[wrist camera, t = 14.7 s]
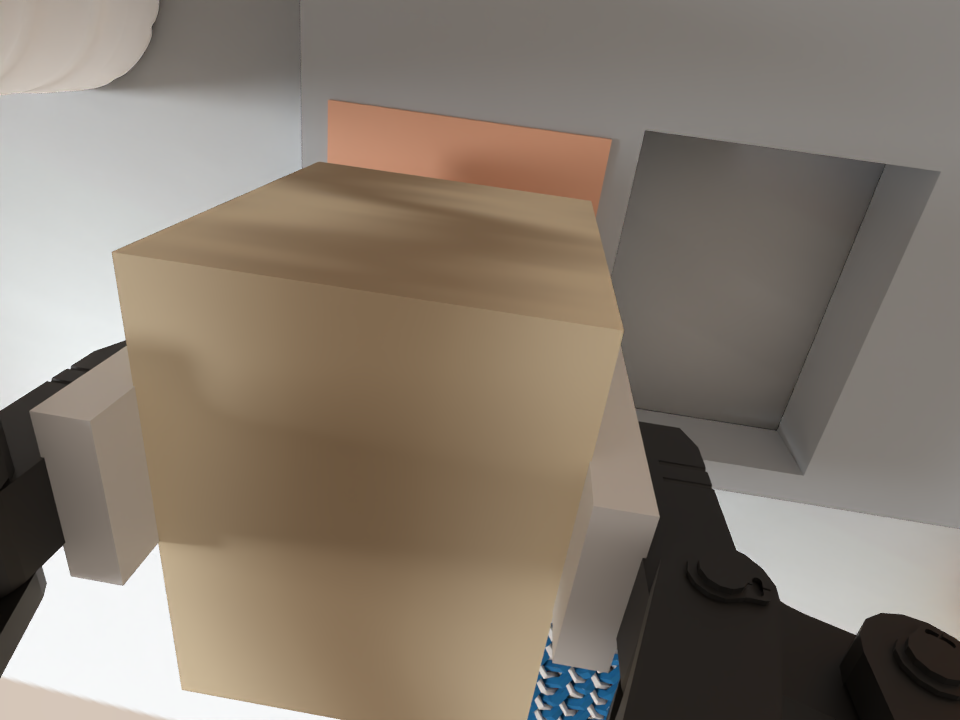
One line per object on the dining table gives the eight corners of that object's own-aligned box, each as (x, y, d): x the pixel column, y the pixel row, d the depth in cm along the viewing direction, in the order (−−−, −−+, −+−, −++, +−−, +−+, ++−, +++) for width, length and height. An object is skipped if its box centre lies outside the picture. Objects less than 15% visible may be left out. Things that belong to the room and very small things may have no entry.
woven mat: (407, 585, 27) (397, 624, 25) (618, 477, 23) (623, 513, 21) (546, 720, 30) (545, 763, 28) (751, 644, 26) (766, 688, 24)
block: (319, 457, 17) (181, 690, 11) (318, 161, 13) (111, 252, 7) (532, 493, 17) (519, 752, 10) (591, 200, 13) (624, 330, 7)
